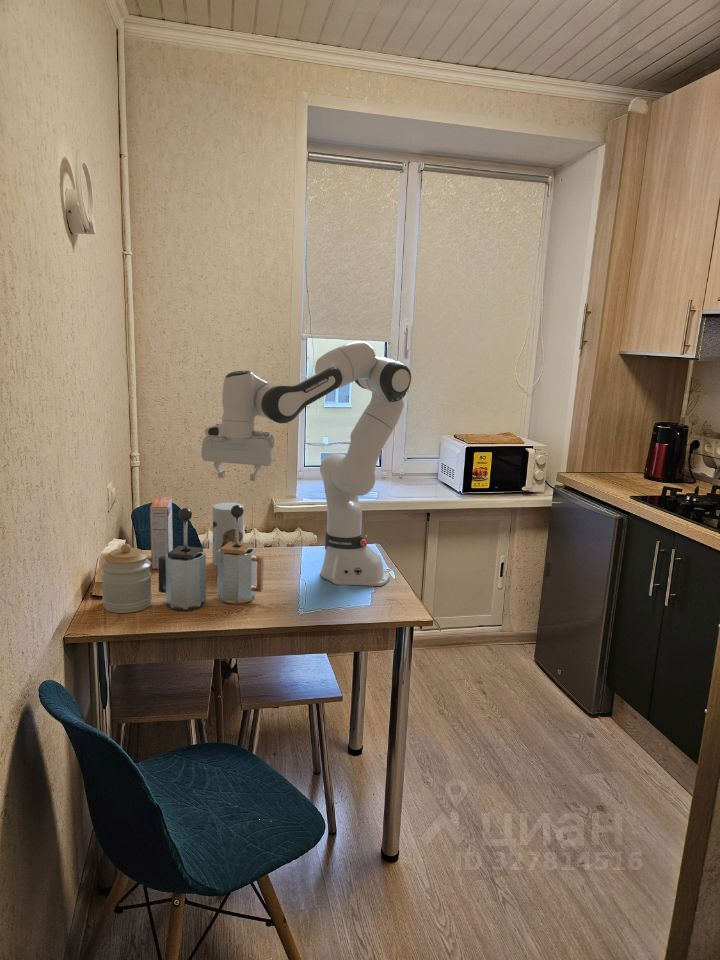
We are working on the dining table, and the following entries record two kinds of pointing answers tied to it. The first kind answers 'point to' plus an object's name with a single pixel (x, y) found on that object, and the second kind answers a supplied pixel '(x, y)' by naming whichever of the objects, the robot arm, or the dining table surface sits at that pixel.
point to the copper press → (238, 573)
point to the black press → (183, 578)
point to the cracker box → (161, 528)
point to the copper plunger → (237, 521)
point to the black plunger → (185, 524)
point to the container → (223, 525)
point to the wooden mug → (230, 538)
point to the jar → (126, 580)
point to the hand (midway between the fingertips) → (237, 479)
